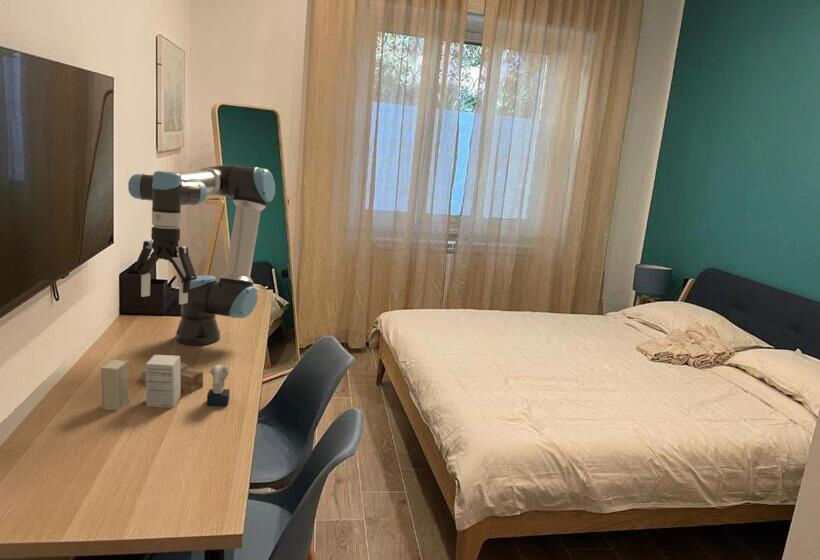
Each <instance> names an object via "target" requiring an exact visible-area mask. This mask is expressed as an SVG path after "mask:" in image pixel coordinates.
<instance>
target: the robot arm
mask: <svg viewBox="0 0 820 560" xmlns="http://www.w3.org/2000/svg"><path fill="white" fill-rule="evenodd" d="M127 185H128V187H127V188H128V189H127V190H128V193H129V194H130V196H131V197H132V198H134V199H138V200H142V201H152V207H151V225H152V227H151V232H150V233H151V234H150V235H151V236H150V237H151V240H145V241H143V243H142V248H141V249H142V250H141V251H140V254H139V256H138V257H137V258H138V259H137V260H136V262H135V265H134V266H133V267H134V268H133V271H135V272H138V274H139V284H140V286H141V288H140V297H142V298H144V297H150V296H151V273H150V271H151V269H152V268H153V267H154V265H155V264H156V263H157V262H158V260H165V261H169V263H171V265H172V266H173V267H174V269H175V271H176V273H177V274H178V277H180V279H181V281H179V290H178V294H179V295H178V305H181V307H180V308H181V309H180V311H181V312H180V313H181V314H180V315H181V316H180V318H181V319H180V321H179V324H178V327H177V330H176V333H175V338H176V339H175V340H176V341H177V342H179V343H181V344H184V345H188V346H189V345H190V346H203V345H210V344H214V343H216V342H218V341H220V339H221V331H220V329H219V326H218V322H217V319H216V316H217V315H218V316H223V317H229V318H232V319H237V318H238V319H245V318H248V317H249V316H250V315H251V314H252V313H253V312H254V310H255V308H256V305H257V302H258V296H259V295H258V290H257V288H256V287H255V286H254V281H253V279H252V278H251V272H252V267H253V260H254V255H255V247H256V244H257V243H256V242H257V237H258V230H259V225H260V224H259V223H260V217H261V212H262V211H263V210H265V209H266V208H267V203H270V202H272V201H273V200H274V198H275V195H276V182H275V179H274V176H273V174H272V172H271V171H270V170H269V169H267V168H262V167H258V166H244V165H235V164H222V165H216V166H214V165H213V166H209V167H202V168H201V169H199V170H194V171H185V172H184V171H183V172H175V171H163V170H162V171H161V170H156V171H154V172H153V174H145V173H141V174H139V173H136V174H133V175H131V177H130V178H129V179H128V183H127ZM212 195H213V196H214V195H215V196H221V197H227V198H233V199H232V202H233V204H234V205H235V213H234V218H233V225H232V230H231V237H230V242H229V249H228V254H227V261H226V265H225V272H224V274H223V273H222V275H220V276H219V281H217V277H216V276H214V275H211V274H210V275H209V274H208V275H207V274H206V275H205V274H204V275H203V274H200V275H196V272H195V268H194V266H193V263H192V260H191V257H190V254H189V247H188V246H187V245H183V246H180V245H179V242H180V241H181V229H180V228H179V227H181V216H182V215H181V209H182V206H195V205H200V204H202V203H204V202H205V200H206V199H207V196H212Z"/></svg>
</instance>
